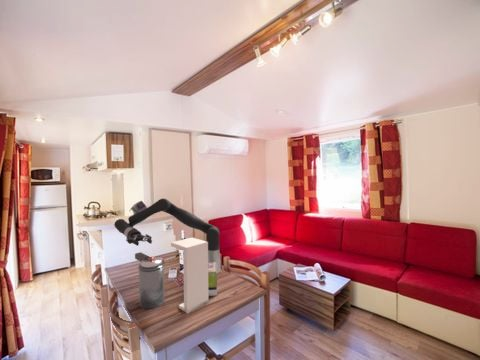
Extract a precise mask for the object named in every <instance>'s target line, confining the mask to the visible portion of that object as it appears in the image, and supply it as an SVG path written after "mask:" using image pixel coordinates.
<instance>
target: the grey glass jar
mask: <svg viewBox="0 0 480 360" xmlns="http://www.w3.org/2000/svg"><path fill="white" fill-rule="evenodd" d="M137 269H138V279H139V280H138V281H139V282H138V285H139V291H138V292H139V307H140V308H141V309H143V310H144V309H145V310H150V309H152V310H153V309H155V308H158V307H160V306H161V305H163V304H164V302H165V261H164V262H162V265H161V266H159V267H157V268H153V269H143V268H141V264H139V265H138V267H137Z"/></svg>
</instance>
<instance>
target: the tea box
mask: <svg viewBox="0 0 480 360" xmlns="http://www.w3.org/2000/svg"><path fill="white" fill-rule="evenodd" d="M217 292H218V274H217V264H216V262H213V263H208V297H211V296H213V297H215V296H217V295H218V293H217Z"/></svg>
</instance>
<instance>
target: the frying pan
mask: <svg viewBox="0 0 480 360" xmlns="http://www.w3.org/2000/svg"><path fill="white" fill-rule="evenodd" d="M179 254H180V253H179ZM179 254H175V255H173V256H172V257H168V258H166V259H165V258H164V256H157V257H158V258H161V259H162V262H164V263H165V262H166V261H168V260H171V259H174V258H177V257H180V256H179Z"/></svg>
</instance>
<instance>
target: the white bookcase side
mask: <svg viewBox="0 0 480 360" xmlns="http://www.w3.org/2000/svg"><path fill="white" fill-rule="evenodd" d="M170 247H173V248H175V249H177V250H181V251H183V252H182V253H183V255H182V256H183V260H182V261H183V267H182V268H183V302H182V303H180V304H178V308H179V309H180V310H181V311H183V312H185V313H186V314H190V313H191V312H193V311H196V310H197V309H199V308H201V307H203V306H204V305H207V304H208V303H209V297H210V296H208V242H206V241H205V240H203V239H198V238H196V237H188V238H185V239H180V240H176V241H171V242H170Z"/></svg>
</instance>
